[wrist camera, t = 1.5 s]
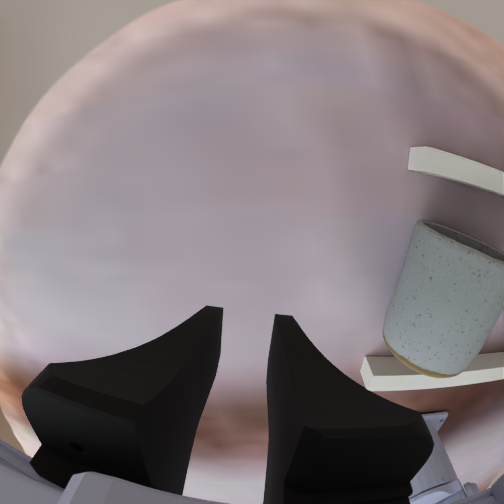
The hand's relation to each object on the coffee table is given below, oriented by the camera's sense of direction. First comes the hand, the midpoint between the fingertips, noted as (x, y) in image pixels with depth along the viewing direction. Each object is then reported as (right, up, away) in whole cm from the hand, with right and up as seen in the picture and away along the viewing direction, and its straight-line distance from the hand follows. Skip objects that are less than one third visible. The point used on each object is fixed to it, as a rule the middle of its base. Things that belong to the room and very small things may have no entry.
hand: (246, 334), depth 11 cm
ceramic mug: (+14, +1, +9) cm, 17 cm away
